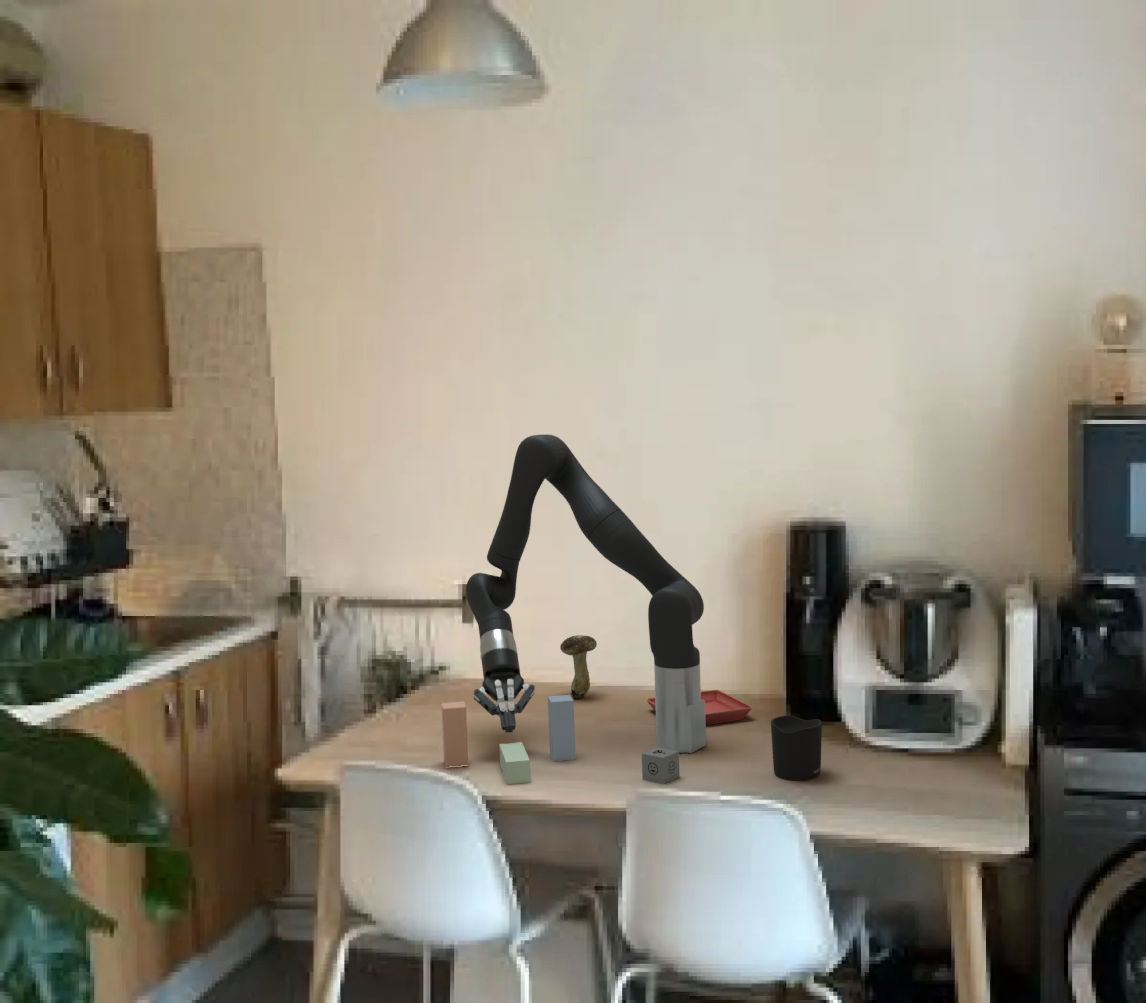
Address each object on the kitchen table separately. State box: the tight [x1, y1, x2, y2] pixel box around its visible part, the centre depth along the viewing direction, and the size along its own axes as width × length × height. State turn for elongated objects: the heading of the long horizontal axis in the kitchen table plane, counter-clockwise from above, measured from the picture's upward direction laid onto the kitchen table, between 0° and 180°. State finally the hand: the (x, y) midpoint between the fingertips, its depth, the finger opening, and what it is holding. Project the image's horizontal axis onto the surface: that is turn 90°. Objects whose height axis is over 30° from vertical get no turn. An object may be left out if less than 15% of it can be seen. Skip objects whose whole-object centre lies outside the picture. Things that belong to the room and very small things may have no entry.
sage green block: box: [498, 741, 532, 785], centre depth 247 cm, size 4×4×12 cm
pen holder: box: [770, 715, 823, 781], centre depth 240 cm, size 9×9×10 cm
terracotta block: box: [440, 701, 469, 768], centre depth 254 cm, size 4×4×12 cm
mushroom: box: [559, 634, 598, 699], centre depth 300 cm, size 9×9×15 cm
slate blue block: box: [547, 694, 577, 762], centre depth 256 cm, size 4×4×12 cm
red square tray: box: [646, 689, 753, 726], centre depth 283 cm, size 18×18×3 cm
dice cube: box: [641, 746, 680, 785], centre depth 241 cm, size 5×5×5 cm
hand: (509, 730), depth 253 cm, fingers closed
